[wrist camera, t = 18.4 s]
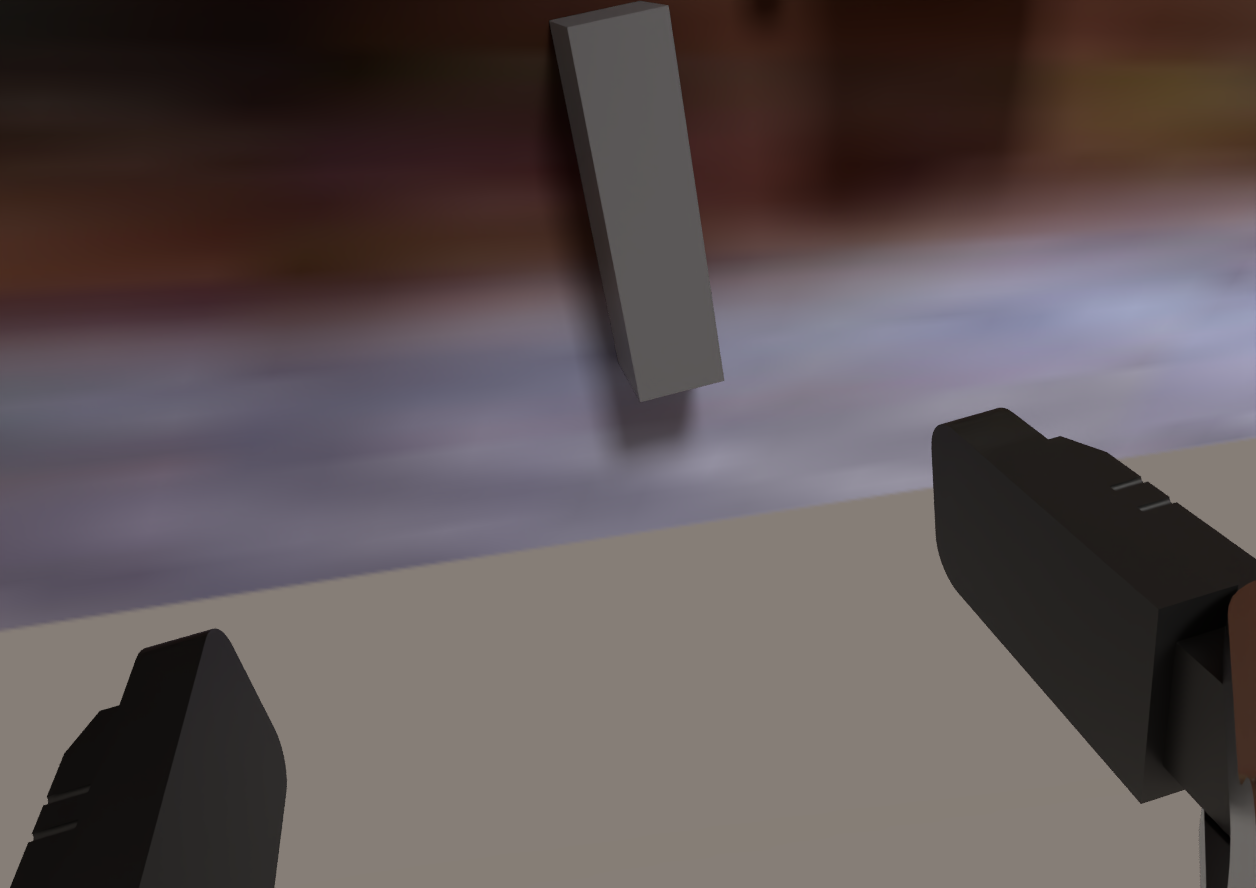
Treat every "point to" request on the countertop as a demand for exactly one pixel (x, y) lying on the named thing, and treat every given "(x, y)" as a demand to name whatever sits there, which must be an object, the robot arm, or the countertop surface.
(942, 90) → the countertop surface
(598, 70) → the tall gray bar
